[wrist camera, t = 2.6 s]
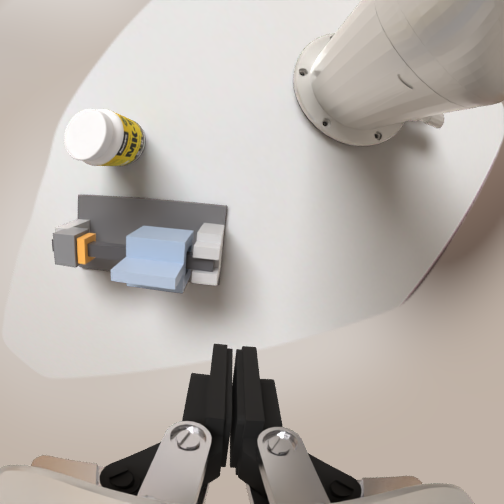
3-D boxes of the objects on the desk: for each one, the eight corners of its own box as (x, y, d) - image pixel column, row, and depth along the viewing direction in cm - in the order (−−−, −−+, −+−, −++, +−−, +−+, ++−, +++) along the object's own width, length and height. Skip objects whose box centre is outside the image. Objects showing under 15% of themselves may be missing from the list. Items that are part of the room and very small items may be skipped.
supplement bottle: (147, 162, 26) (111, 161, 18) (105, 169, 26) (60, 171, 18) (145, 116, 25) (111, 97, 16) (104, 124, 24) (59, 112, 16)
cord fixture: (226, 205, 27) (222, 216, 21) (219, 283, 29) (213, 315, 23) (80, 194, 26) (42, 202, 20) (81, 265, 28) (48, 288, 22)
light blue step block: (193, 230, 24) (176, 254, 18) (190, 274, 26) (174, 311, 19) (143, 225, 24) (109, 246, 17) (142, 268, 25) (112, 301, 18)
